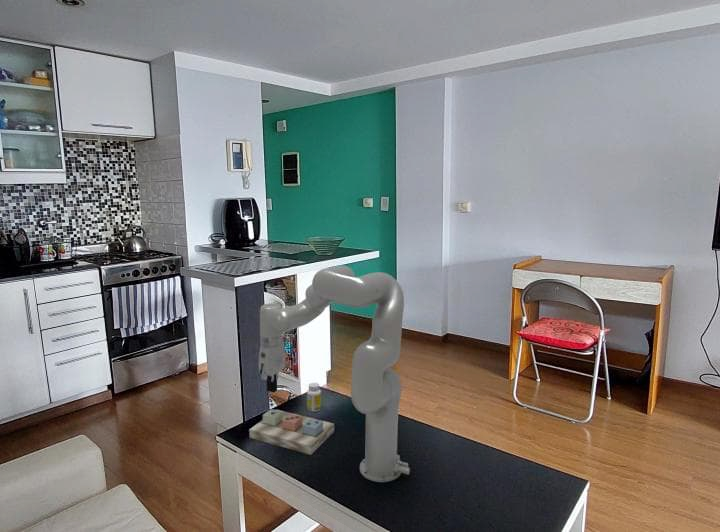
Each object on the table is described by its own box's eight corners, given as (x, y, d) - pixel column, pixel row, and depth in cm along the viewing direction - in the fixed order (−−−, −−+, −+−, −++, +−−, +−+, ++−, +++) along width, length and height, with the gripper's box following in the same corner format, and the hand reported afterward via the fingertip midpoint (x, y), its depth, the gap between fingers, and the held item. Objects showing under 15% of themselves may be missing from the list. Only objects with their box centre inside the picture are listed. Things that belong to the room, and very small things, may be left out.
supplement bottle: (322, 405, 179) (322, 382, 178) (319, 412, 174) (319, 388, 173) (308, 405, 180) (308, 381, 178) (305, 411, 175) (305, 387, 173)
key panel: (334, 431, 160) (334, 423, 160) (311, 454, 146) (311, 446, 145) (276, 417, 170) (276, 409, 169) (249, 437, 155) (249, 429, 155)
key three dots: (302, 424, 159) (302, 416, 158) (294, 431, 154) (294, 422, 154) (290, 421, 161) (290, 413, 160) (282, 428, 156) (282, 419, 156)
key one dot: (283, 419, 162) (282, 411, 161) (274, 426, 157) (274, 417, 157) (271, 416, 164) (271, 408, 163) (262, 423, 159) (262, 414, 159)
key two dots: (322, 429, 155) (322, 421, 155) (315, 436, 151) (315, 427, 150) (310, 426, 157) (310, 417, 157) (302, 433, 153) (302, 424, 152)
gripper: (267, 348, 148) (268, 401, 151) (292, 335, 161) (292, 385, 164) (248, 344, 151) (249, 397, 154) (275, 332, 164) (275, 381, 167)
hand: (271, 390), depth 159 cm, fingers closed
